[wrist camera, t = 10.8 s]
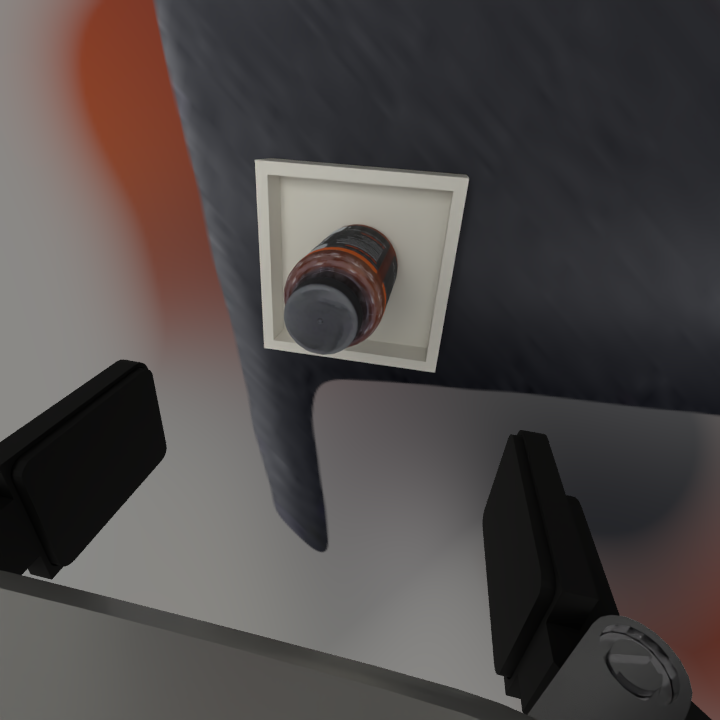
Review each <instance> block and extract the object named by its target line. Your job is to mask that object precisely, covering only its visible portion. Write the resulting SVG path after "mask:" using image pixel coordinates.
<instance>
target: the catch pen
mask: <svg viewBox="0 0 720 720" xmlns="http://www.w3.org/2000/svg"><path fill="white" fill-rule="evenodd" d="M255 171H256V191H257V211H258V231H259V251H260V272H261V292H262V312H263V332H264V348H269V349H276V350H283V351H289V352H296V353H303V354H310V355H317V356H324V357H331V358H338V359H345V360H351V361H358V362H365V363H372V364H379V365H386V366H393V367H400V368H407V369H413V370H420V371H427V372H434V373H435V369H436V364H437V358H438V352H439V347H440V341H441V335H442V330H443V324H444V318H445V313H446V307H447V301H448V296H449V290H450V284H451V279H452V273H453V267H454V262H455V256H456V250H457V245H458V239H459V233H460V228H461V222H462V216H463V211H464V205H465V199H466V193H467V188H468V182H469V177H468V176H467V175H464V174H453V173H441V172H429V171H417V170H406V169H394V168H382V167H370V166H358V165H347V164H335V163H323V162H311V161H299V160H288V159H276V158H269V159H259V160H255ZM353 224H362V225H367V226H370V227H372V228H374V229H376V230H378V231H380V232H381V233H382V234H383V235H385V236H386V237H387V238H388V240H389V241H390V242H391V244H392V246H393V248H394V250H395V253H396V256H397V262H398V269H397V276H396V280H395V283H394V286H393V289H392V292H391V294H390V297H389V300H388V303H387V306H386V309H385V312H384V314H383V317H382V319H381V321H380V323H379V325H378V327H377V328H376V329H375V331H374V332H373V333H372V334H371V335H370V336H369V337H368V338H367V339H366V340H364V341H363V342H361V343H359V344H357V345H354V346H351V347H348V348H345V349H344V350H342V351H340V352H337V353H335V354H326V355H322V354H316V353H312V352H309V351H307V350H305V349H304V348H302V347H301V346H299V345H298V344H297V343H296V342H295V341H294V340H293V339H292V337H291V336H290V334H289V333H288V331H287V329H286V326H285V321H284V309H285V303H284V288H285V284H286V280H287V278H288V276H289V274H290V272H291V271H292V269H293V268H294V267H295V265H296V264H297V263H298V262H299V261H300V260H301V259H302V258H303V257H305V256H306V255H307V254H308V253H309V252H310V251H311V250H312V249H314V248H315V247H316V246H317V245H319V244H320V243H321V242H322V241H323V240H324V239H326V238H327V237H328V236H329V235H330V234H332V233H333V232H334V231H336V230H338V229H340V228H342V227H344V226H348V225H353Z"/></svg>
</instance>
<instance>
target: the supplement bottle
mask: <svg viewBox="0 0 720 720" xmlns="http://www.w3.org/2000/svg"><path fill="white" fill-rule="evenodd" d="M397 269H398V262H397V256H396V253H395V250H394V248H393V246H392V244H391V242H390V241H389V240H388V238H387V237H386V236H385V235H383V234H382V233H381V232H380V231H378V230H376V229H374V228H372V227H370V226H367V225H362V224H353V225H348V226H344V227H342V228H340V229H338V230H336V231H334V232H333V233H332V234H330V235H329V236H328V237H327V238H326V239H324V240H323V241H322V242H321V243H320V244H319V245H317V246H316V247H315V248H314V249H312V250H311V251H310V252H309V253H308V254H307V255H306V256H305V257H303V258H302V259H301V260H300V261H299V262H298V263H297V264H296V265H295V267H294V268H293V269H292V271H291V272H290V274H289V276H288V278H287V280H286V284H285V288H284V303H285V309H284V321H285V326H286V329H287V331H288V333H289V334H290V336H291V337H292V339H293V340H294V341H295V342H296V343H297V344H298V345H299V346H301V347H302V348H304V349H305V350H307V351H309V352H312V353H316V354H322V355H326V354H335V353H337V352H340V351H342V350H344V349H345V348H348V347H351V346H354V345H357V344H359V343H361V342H363V341H364V340H366V339H367V338H368V337H369V336H370V335H371V334H372V333H373V332H374V331H375V329H376V328H377V327H378V325H379V323H380V321H381V319H382V317H383V314H384V312H385V309H386V306H387V303H388V300H389V297H390V294H391V292H392V289H393V286H394V283H395V280H396V276H397Z"/></svg>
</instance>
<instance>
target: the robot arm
mask: <svg viewBox="0 0 720 720" xmlns="http://www.w3.org/2000/svg"><path fill="white" fill-rule="evenodd" d="M166 449H167V448H166V441H165V436H164V431H163V425H162V421H161V415H160V411H159V405H158V400H157V395H156V391H155V385H154V380H153V375H152V372H151V371H150V370H148V368H147V366H146V365H145V364H143V363H140V362H134V361H129V360H119V361H117V362H115V363H114V364H113V365H111V366H110V367H109V368H107V369H105V370H104V371H102V372H101V373H100V374H98V375H97V376H95V377H94V378H92V379H91V380H90V381H88V382H86V383H85V384H84V385H82V386H81V387H79V388H78V389H76V390H75V391H73V392H72V393H71V394H69V395H68V396H66V397H65V398H63V399H62V400H61V401H59V402H58V403H56V404H55V405H53V406H52V407H50V408H49V409H48V410H46V411H45V412H43V413H42V414H40V415H39V416H37V417H36V418H34V419H33V420H32V421H30V422H29V423H27V424H26V425H25V426H23V427H21V428H20V429H19V430H17V431H16V432H14V433H13V434H11V435H10V436H8V437H7V438H6V439H4V440H3V441H1V442H0V720H711V719H710V718H709V717H708V716H707V715H706V714H705V713H704V712H702V710H700V709H699V708H698V707H697V706H696V705H695V704H694V703H693V702H692V701H691V698H692V689H691V685H690V680H689V677H688V675H687V673H686V671H685V669H684V667H683V665H682V663H681V661H680V660H679V658H678V657H677V656H676V654H675V653H674V652H673V650H672V649H671V648H670V647H669V645H668V644H666V643H665V642H664V641H663V640H662V639H661V638H660V637H659V636H658V635H657V634H656V633H655V632H653V631H651V630H650V629H648V628H647V627H645V626H644V625H642V624H640V623H639V622H637V621H634V620H631V619H629V618H627V617H623V616H619V612H618V610H617V607H616V604H615V601H614V598H613V596H612V593H611V590H610V587H609V584H608V581H607V578H606V575H605V573H604V570H603V567H602V564H601V561H600V559H599V556H598V553H597V550H596V547H595V544H594V541H593V539H592V536H591V533H590V530H589V527H588V524H587V521H586V519H585V516H584V513H583V510H582V507H581V505H580V503H579V501H578V500H577V499H576V498H575V497H572V496H566V495H565V491H564V488H563V485H562V482H561V479H560V476H559V473H558V469H557V466H556V463H555V460H554V457H553V454H552V450H551V448H550V444H549V441H548V438H547V436H546V435H545V434H541V433H535V432H529V431H523V430H520V431H519V432H518V434H517V435H510V436H509V438H508V441H507V444H506V447H505V450H504V453H503V456H502V459H501V462H500V465H499V468H498V471H497V474H496V477H495V480H494V483H493V486H492V489H491V492H490V495H489V498H488V501H487V504H486V507H485V510H484V514H483V536H484V548H485V560H486V572H487V583H488V596H489V608H490V620H491V631H492V643H493V656H494V666H495V671H496V673H497V674H498V675H502V676H504V682H505V692H506V695H507V696H511V697H516V698H519V699H521V704H522V711H523V713H521V712H519V711H517V710H514V709H512V708H510V707H507V706H505V705H503V704H500V703H497V702H494V701H491V700H488V699H485V698H482V697H480V696H477V695H473V694H470V693H467V692H464V691H462V690H459V689H455V688H452V687H448V686H445V685H441V684H438V683H434V682H430V681H427V680H424V679H420V678H416V677H413V676H409V675H406V674H402V673H398V672H395V671H391V670H388V669H384V668H380V667H377V666H374V665H370V664H366V663H362V662H358V661H355V660H351V659H346V658H343V657H339V656H336V655H332V654H328V653H324V652H320V651H316V650H312V649H309V648H305V647H301V646H297V645H293V644H289V643H286V642H282V641H278V640H274V639H271V638H267V637H263V636H259V635H255V634H251V633H247V632H244V631H240V630H236V629H232V628H228V627H224V626H220V625H216V624H212V623H208V622H205V621H201V620H197V619H193V618H189V617H185V616H181V615H177V614H173V613H169V612H165V611H161V610H158V609H154V608H149V607H146V606H142V605H138V604H134V603H130V602H126V601H122V600H118V599H114V598H110V597H106V596H102V595H98V594H94V593H90V592H86V591H82V590H78V589H74V588H70V587H66V586H62V585H58V584H54V583H50V582H46V581H42V580H38V579H34V578H30V577H26V576H22V574H23V573H24V572H25V571H26V570H27V569H28V570H29V572H30V574H32V575H36V576H40V577H44V578H48V579H53V578H54V577H55V575H56V574H57V573H58V572H59V571H60V570H61V569H62V568H63V566H67V565H69V564H71V563H72V562H73V561H74V560H75V559H76V558H77V557H78V555H79V554H80V553H81V552H82V551H83V550H84V549H85V547H86V546H87V545H88V544H89V543H90V542H91V541H92V539H93V538H94V537H95V536H96V535H97V534H98V533H99V531H100V530H101V529H102V528H103V527H104V526H105V525H106V523H107V522H108V521H109V520H110V519H111V518H112V517H113V515H114V514H115V513H116V512H117V511H118V510H119V509H120V507H121V506H122V505H123V504H124V503H125V502H126V501H127V499H128V498H129V497H130V496H131V495H132V494H133V493H134V491H135V490H136V489H137V488H138V487H139V486H140V485H141V483H142V482H143V481H144V480H145V479H146V478H147V477H148V475H149V474H150V473H151V472H152V471H153V470H154V469H155V467H156V466H157V465H158V464H159V463H160V462H161V461H162V459H163V458H164V456H165V453H166Z"/></svg>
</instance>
